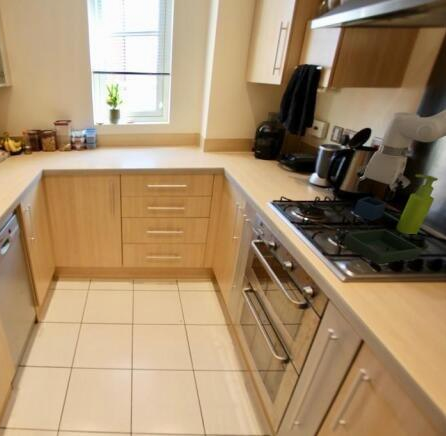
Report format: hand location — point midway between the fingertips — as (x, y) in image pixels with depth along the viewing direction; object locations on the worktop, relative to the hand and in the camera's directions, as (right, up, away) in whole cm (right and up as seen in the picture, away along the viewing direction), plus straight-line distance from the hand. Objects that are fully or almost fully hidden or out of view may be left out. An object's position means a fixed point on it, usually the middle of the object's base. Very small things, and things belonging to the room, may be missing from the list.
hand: (373, 194), depth 118 cm
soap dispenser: (+6, -13, -6) cm, 16 cm away
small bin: (0, -8, +4) cm, 9 cm away
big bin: (-13, -20, -18) cm, 30 cm away
